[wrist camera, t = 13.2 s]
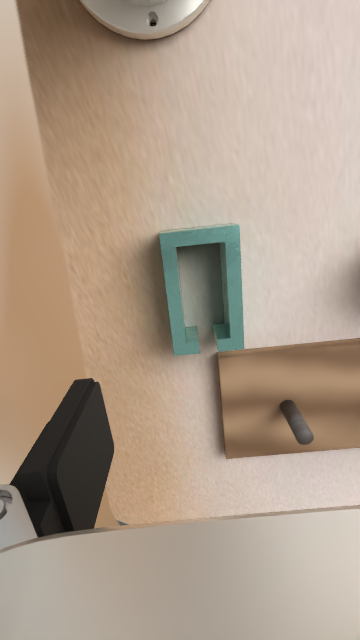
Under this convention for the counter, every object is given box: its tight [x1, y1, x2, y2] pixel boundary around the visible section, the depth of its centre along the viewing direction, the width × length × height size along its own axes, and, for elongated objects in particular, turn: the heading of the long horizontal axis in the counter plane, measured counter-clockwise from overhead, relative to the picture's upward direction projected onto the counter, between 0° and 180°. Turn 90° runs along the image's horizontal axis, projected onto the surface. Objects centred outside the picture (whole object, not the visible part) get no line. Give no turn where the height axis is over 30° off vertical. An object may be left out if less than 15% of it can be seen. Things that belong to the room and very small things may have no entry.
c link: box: [159, 223, 244, 356], centre depth 28 cm, size 11×6×4 cm, turn 6°
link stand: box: [217, 338, 360, 459], centre depth 27 cm, size 13×22×16 cm, turn 96°
